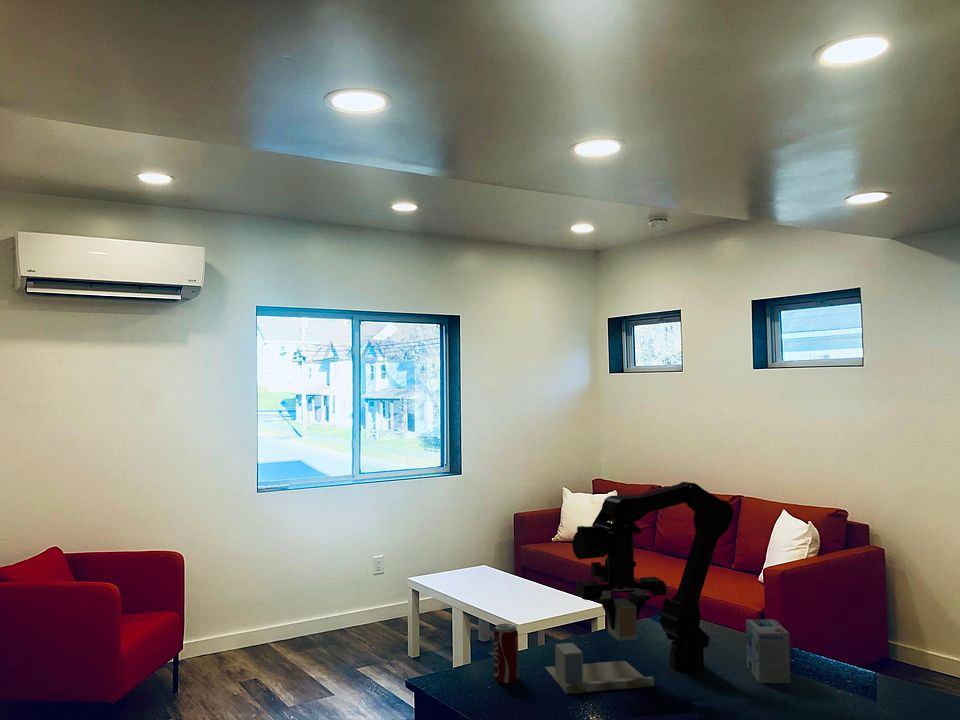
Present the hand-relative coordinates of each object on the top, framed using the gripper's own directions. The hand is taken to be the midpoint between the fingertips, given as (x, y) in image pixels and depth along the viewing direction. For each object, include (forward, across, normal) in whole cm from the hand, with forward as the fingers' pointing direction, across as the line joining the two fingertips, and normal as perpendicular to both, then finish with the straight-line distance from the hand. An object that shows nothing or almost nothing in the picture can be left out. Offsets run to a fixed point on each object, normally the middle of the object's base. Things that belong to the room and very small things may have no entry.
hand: (622, 628), depth 164 cm
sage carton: (+2, 0, 0) cm, 2 cm away
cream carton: (+10, +12, 0) cm, 16 cm away
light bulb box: (+12, -32, +3) cm, 35 cm away
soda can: (+11, +25, -5) cm, 28 cm away
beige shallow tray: (+11, +5, -2) cm, 13 cm away
